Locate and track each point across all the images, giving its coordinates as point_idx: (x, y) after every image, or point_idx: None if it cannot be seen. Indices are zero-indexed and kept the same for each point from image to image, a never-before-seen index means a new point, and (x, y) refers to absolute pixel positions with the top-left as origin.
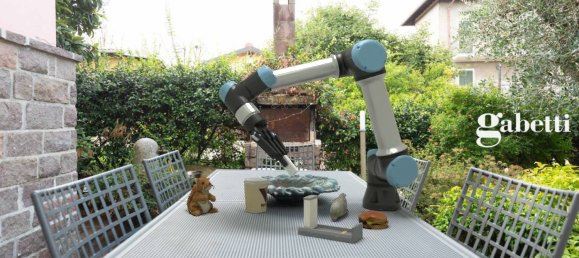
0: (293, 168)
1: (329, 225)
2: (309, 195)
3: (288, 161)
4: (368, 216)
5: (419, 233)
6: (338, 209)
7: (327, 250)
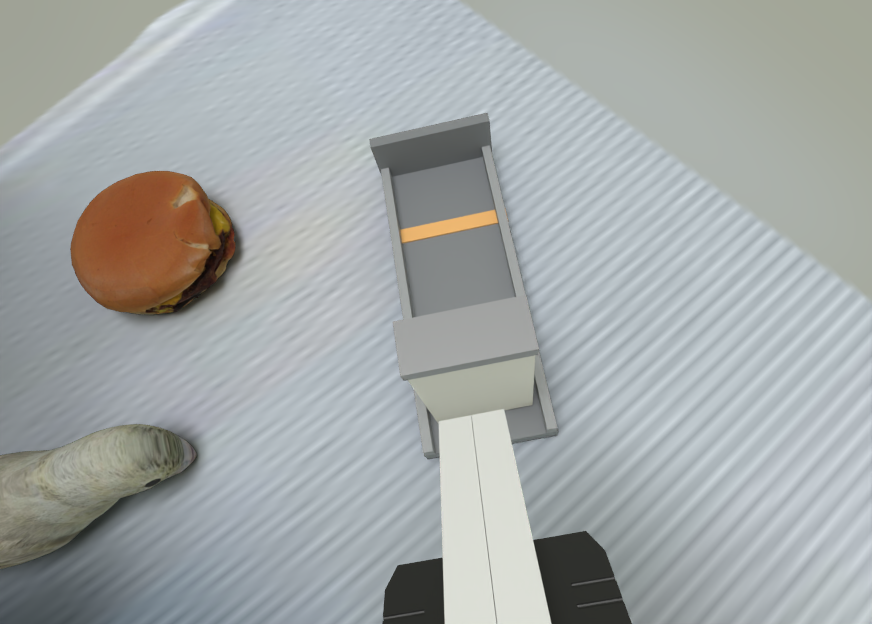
0: (512, 449)
1: (406, 318)
2: (436, 368)
3: (532, 542)
4: (199, 213)
5: (188, 75)
6: (132, 424)
7: (653, 173)
